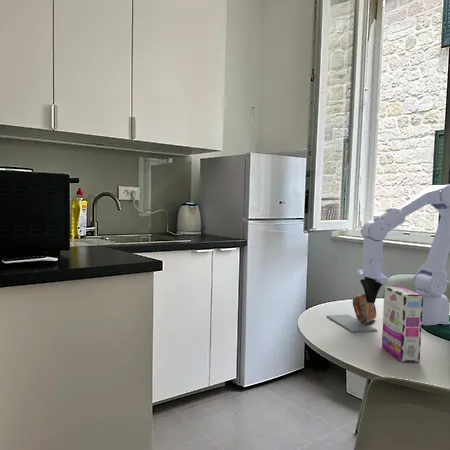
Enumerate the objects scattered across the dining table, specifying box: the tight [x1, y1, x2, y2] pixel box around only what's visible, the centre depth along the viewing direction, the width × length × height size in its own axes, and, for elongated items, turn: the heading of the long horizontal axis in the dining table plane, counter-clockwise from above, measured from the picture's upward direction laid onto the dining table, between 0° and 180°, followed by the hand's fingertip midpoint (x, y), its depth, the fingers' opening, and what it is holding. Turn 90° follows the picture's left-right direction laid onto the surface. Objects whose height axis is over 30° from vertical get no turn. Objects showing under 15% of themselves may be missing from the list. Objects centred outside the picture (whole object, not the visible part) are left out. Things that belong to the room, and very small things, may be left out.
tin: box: [352, 293, 377, 323], centre depth 138 cm, size 15×3×8 cm, turn 147°
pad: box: [326, 314, 378, 334], centre depth 136 cm, size 8×17×1 cm, turn 13°
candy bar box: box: [381, 286, 423, 363], centre depth 109 cm, size 11×5×16 cm, turn 5°
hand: (370, 302), depth 138 cm, fingers closed
